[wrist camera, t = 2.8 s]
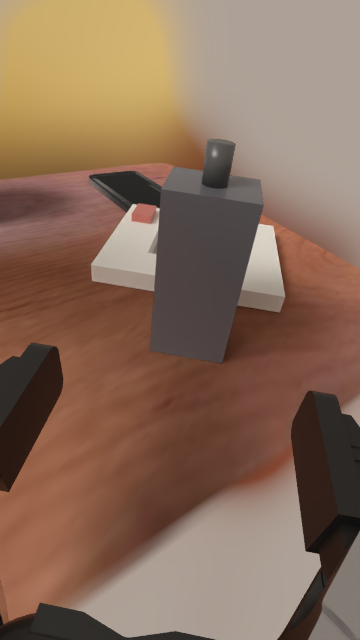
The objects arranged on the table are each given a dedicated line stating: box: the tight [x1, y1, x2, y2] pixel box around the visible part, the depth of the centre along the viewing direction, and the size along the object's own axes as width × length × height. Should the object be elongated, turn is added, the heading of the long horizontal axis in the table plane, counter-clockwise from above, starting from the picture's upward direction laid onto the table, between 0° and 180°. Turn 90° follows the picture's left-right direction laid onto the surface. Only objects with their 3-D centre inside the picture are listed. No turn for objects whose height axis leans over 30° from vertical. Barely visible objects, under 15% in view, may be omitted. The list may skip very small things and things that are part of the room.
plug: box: [150, 139, 264, 363], centre depth 21 cm, size 5×4×13 cm
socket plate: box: [91, 203, 285, 313], centre depth 34 cm, size 16×14×2 cm
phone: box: [89, 171, 162, 212], centre depth 46 cm, size 8×1×15 cm
